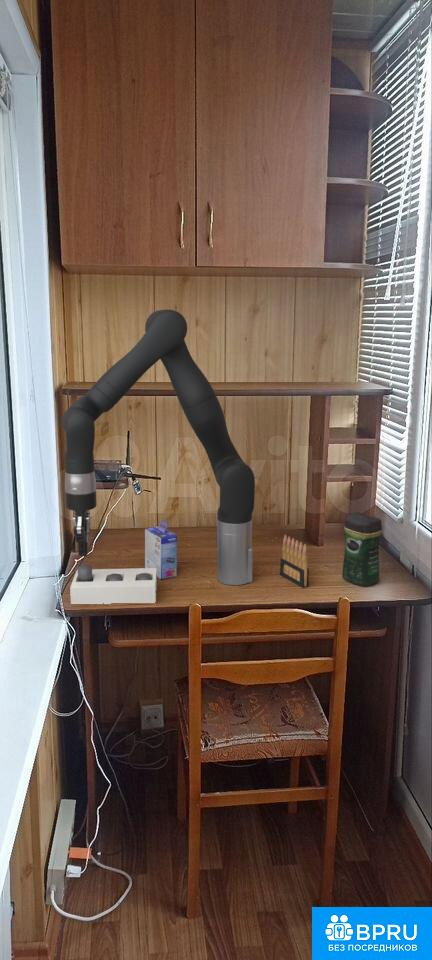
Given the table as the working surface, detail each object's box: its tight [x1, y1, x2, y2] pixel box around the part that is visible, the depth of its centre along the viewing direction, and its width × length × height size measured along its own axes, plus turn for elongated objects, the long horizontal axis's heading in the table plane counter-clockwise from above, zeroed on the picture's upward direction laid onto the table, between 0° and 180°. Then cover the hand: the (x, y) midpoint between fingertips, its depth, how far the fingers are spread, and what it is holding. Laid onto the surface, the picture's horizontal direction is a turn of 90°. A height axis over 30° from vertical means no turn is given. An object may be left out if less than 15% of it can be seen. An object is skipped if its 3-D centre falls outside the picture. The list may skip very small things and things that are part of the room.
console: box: [69, 567, 158, 605], centre depth 181 cm, size 21×12×5 cm, turn 93°
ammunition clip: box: [279, 533, 310, 589], centre depth 190 cm, size 11×2×12 cm, turn 30°
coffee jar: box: [342, 511, 383, 587], centre depth 189 cm, size 10×8×19 cm
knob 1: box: [77, 564, 93, 582], centre depth 180 cm, size 4×4×4 cm
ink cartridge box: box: [144, 520, 178, 580], centre depth 195 cm, size 10×6×14 cm, turn 33°
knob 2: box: [137, 573, 151, 580], centre depth 182 cm, size 4×4×4 cm
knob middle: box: [108, 574, 122, 581], centre depth 181 cm, size 4×4×4 cm
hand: (83, 554), depth 179 cm, fingers closed
